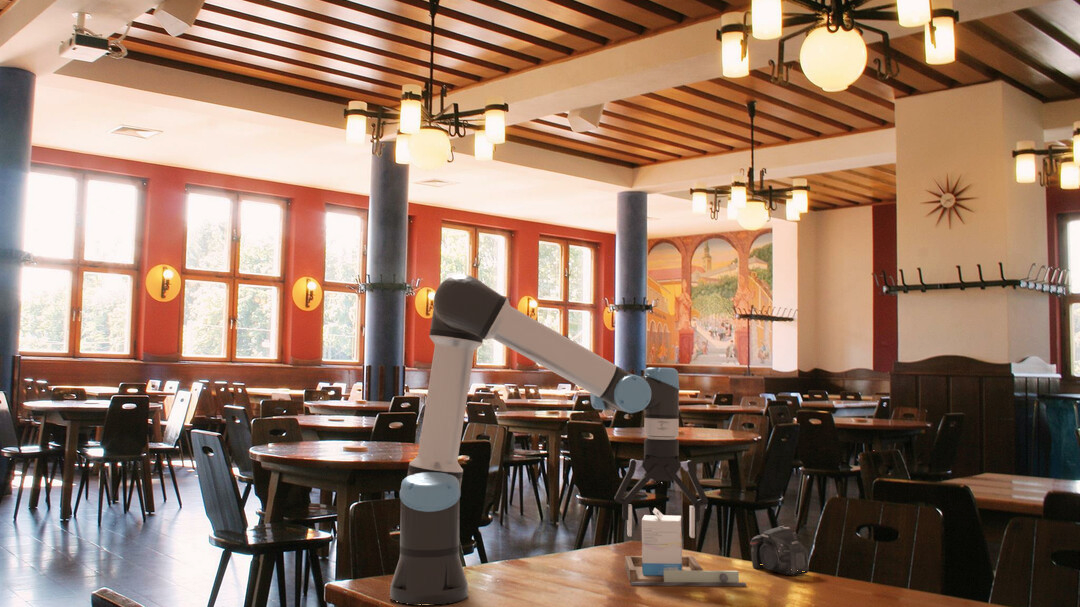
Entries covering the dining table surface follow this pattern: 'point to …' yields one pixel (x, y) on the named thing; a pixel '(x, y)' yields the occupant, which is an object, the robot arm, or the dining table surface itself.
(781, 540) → the camera
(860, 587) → the dining table surface
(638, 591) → the dining table surface
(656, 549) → the ink box
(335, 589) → the dining table surface
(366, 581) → the dining table surface
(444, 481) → the robot arm
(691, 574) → the cream rectangular bar
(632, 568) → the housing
